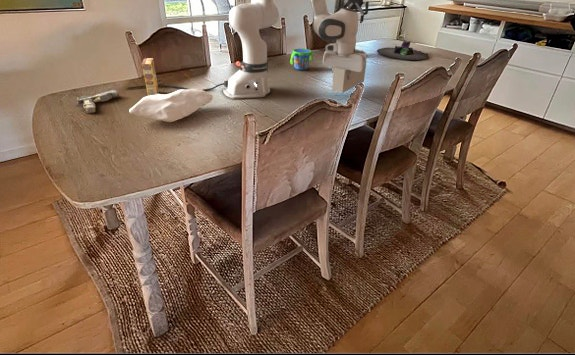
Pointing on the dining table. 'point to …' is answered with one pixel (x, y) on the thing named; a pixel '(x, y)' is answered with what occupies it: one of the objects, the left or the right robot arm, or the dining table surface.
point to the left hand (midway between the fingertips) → (342, 78)
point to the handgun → (95, 100)
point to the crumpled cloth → (171, 104)
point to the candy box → (150, 76)
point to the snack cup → (301, 58)
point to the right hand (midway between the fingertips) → (352, 22)
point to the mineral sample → (403, 52)
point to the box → (341, 80)
